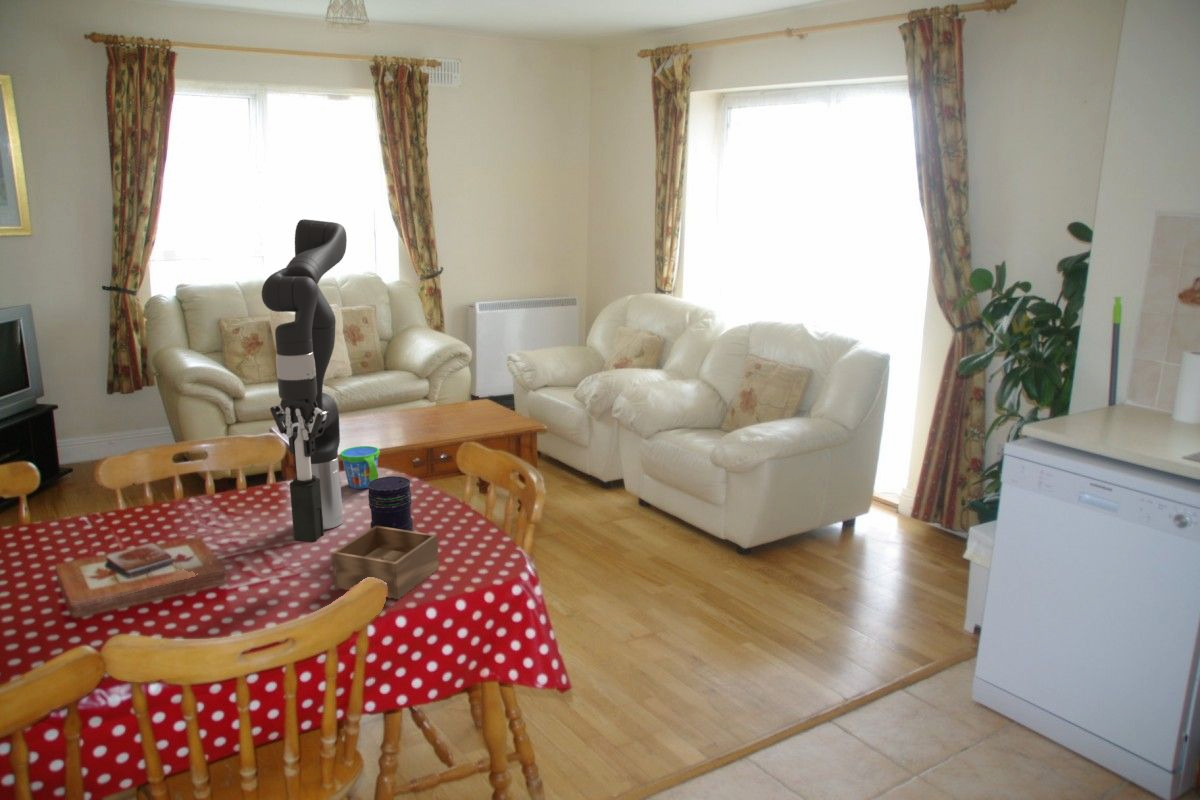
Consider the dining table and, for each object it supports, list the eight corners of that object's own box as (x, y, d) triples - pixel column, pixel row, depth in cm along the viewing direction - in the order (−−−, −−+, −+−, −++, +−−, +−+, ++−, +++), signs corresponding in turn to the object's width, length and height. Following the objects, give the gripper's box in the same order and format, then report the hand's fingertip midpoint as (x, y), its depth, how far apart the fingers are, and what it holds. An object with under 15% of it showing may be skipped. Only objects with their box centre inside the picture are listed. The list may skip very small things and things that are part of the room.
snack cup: (335, 481, 257) (332, 447, 254) (370, 474, 263) (368, 441, 260) (353, 497, 244) (350, 461, 242) (390, 489, 250) (388, 454, 248)
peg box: (334, 587, 191) (331, 552, 189) (378, 558, 206) (375, 525, 204) (398, 599, 186) (396, 564, 184) (438, 568, 200) (437, 535, 198)
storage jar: (377, 553, 208) (372, 493, 204) (367, 539, 217) (362, 480, 213) (419, 545, 213) (415, 485, 209) (407, 531, 221) (404, 473, 217)
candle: (313, 543, 190) (305, 429, 183) (292, 540, 191) (282, 427, 184) (326, 533, 194) (318, 422, 188) (304, 531, 196) (296, 421, 189)
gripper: (256, 374, 183) (263, 455, 187) (312, 381, 178) (318, 464, 182) (282, 367, 190) (288, 445, 194) (336, 373, 184) (341, 454, 189)
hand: (302, 454), depth 188 cm, fingers closed on candle, 3 cm apart
